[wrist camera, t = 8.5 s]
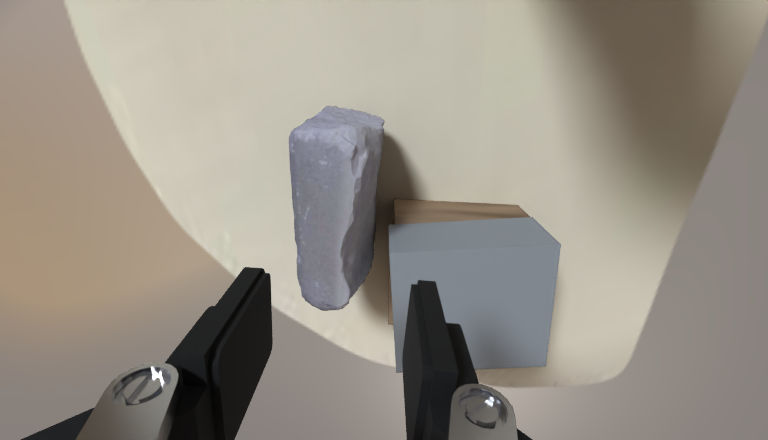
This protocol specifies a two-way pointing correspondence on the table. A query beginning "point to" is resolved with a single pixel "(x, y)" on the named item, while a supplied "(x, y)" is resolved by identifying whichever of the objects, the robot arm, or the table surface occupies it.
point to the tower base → (446, 218)
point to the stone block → (335, 202)
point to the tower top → (481, 284)
